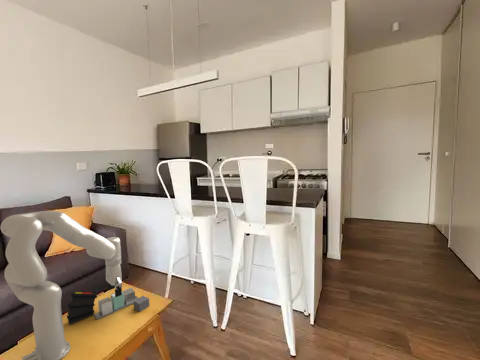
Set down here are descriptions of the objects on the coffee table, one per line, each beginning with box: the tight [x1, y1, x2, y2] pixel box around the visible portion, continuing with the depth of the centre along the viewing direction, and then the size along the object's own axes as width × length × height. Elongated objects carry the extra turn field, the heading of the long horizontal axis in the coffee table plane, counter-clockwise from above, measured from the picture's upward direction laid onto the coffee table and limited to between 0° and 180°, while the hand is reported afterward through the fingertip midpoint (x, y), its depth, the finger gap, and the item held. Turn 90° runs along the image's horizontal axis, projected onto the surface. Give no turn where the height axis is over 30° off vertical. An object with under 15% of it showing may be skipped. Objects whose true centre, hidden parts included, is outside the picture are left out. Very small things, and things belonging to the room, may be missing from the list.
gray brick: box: [133, 295, 150, 313], centre depth 137 cm, size 6×5×4 cm
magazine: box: [66, 290, 98, 326], centre depth 129 cm, size 4×13×15 cm, turn 135°
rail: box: [93, 287, 139, 321], centre depth 137 cm, size 22×5×7 cm, turn 136°
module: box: [110, 292, 124, 310], centre depth 137 cm, size 5×4×7 cm
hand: (115, 292), depth 135 cm, fingers open, 9 cm apart
